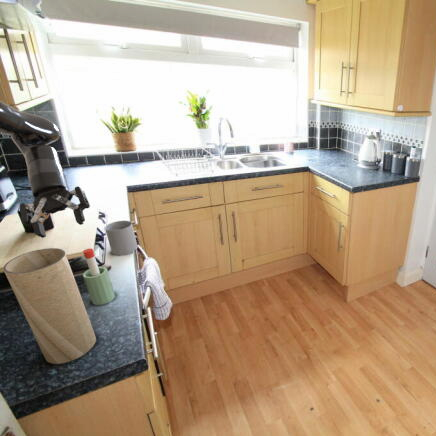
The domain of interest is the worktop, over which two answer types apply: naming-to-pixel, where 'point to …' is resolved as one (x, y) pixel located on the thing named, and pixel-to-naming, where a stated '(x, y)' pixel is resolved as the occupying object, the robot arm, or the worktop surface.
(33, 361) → the worktop surface
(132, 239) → the cup
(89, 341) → the tube
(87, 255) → the marker
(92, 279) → the green pencil holder
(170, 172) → the worktop surface
